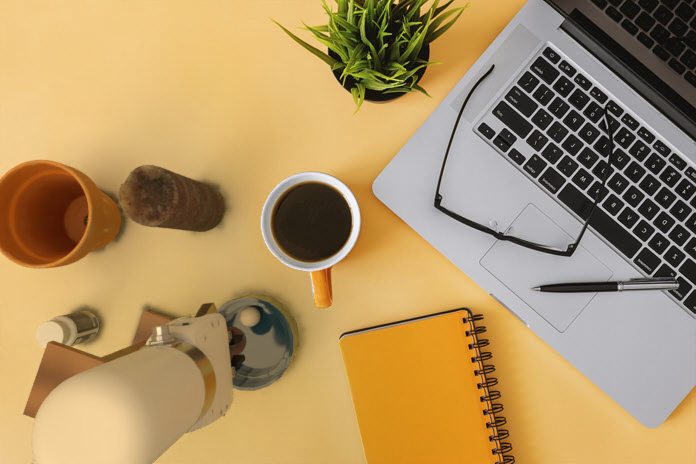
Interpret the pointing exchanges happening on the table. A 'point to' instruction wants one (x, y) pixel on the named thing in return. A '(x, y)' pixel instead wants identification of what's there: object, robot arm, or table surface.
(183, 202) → the brown textured cylinder
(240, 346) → the stick
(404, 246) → the table surface
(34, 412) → the stand
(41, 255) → the flower pot
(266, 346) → the bowl
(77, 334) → the pill bottle
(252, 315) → the ball
